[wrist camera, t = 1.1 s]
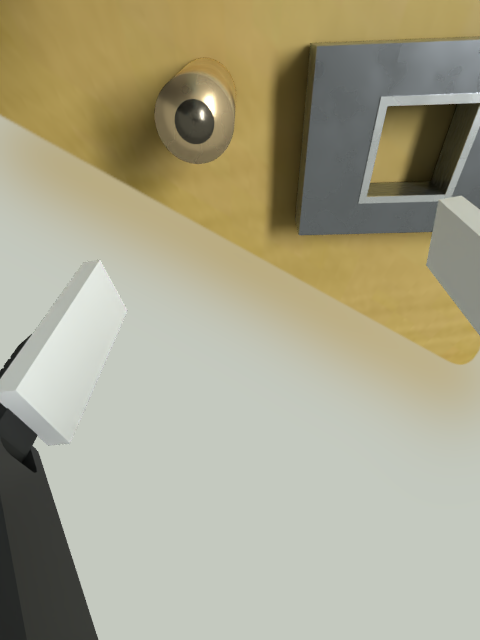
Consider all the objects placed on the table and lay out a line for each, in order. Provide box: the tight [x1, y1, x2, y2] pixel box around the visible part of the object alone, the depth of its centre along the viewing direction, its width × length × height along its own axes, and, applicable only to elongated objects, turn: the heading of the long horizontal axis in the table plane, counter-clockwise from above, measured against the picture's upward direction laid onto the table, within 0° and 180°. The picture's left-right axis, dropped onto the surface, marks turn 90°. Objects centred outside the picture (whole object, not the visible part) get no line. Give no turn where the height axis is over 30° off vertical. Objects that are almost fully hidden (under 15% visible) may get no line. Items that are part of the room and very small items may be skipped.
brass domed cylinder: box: [155, 58, 236, 164], centre depth 24 cm, size 5×5×9 cm
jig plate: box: [295, 36, 480, 235], centre depth 28 cm, size 14×18×3 cm
